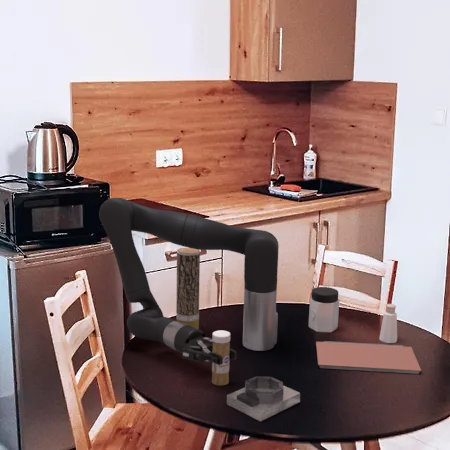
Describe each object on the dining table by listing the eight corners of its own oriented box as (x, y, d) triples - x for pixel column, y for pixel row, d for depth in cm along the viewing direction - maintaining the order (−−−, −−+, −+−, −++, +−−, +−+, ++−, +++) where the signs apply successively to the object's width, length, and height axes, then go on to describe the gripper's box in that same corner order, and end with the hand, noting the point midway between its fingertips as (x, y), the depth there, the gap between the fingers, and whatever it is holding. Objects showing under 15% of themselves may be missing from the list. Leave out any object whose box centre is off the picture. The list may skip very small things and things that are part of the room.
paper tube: (200, 326, 216) (201, 248, 211) (197, 335, 210) (198, 254, 204) (178, 325, 217) (178, 247, 211) (174, 333, 210) (175, 253, 205)
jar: (303, 324, 220) (305, 288, 217) (325, 320, 224) (327, 285, 221) (320, 334, 212) (322, 297, 209) (342, 330, 216) (344, 293, 213)
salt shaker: (399, 343, 207) (402, 308, 204) (380, 343, 207) (383, 307, 204) (395, 336, 212) (398, 302, 210) (377, 336, 212) (379, 301, 210)
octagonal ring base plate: (266, 386, 178) (266, 369, 177) (299, 402, 170) (300, 383, 169) (226, 404, 168) (227, 385, 167) (260, 421, 161) (261, 402, 159)
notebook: (410, 350, 203) (410, 344, 203) (420, 376, 187) (421, 369, 186) (315, 345, 205) (315, 339, 205) (317, 370, 189) (318, 363, 189)
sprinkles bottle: (223, 387, 177) (224, 337, 173) (208, 383, 179) (208, 334, 176) (232, 381, 180) (233, 331, 177) (217, 376, 183) (218, 328, 179)
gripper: (163, 331, 182) (208, 352, 170) (203, 318, 192) (248, 337, 180) (162, 358, 184) (207, 380, 172) (203, 344, 193) (248, 364, 182)
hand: (228, 358), depth 176 cm, fingers closed on sprinkles bottle, 4 cm apart
